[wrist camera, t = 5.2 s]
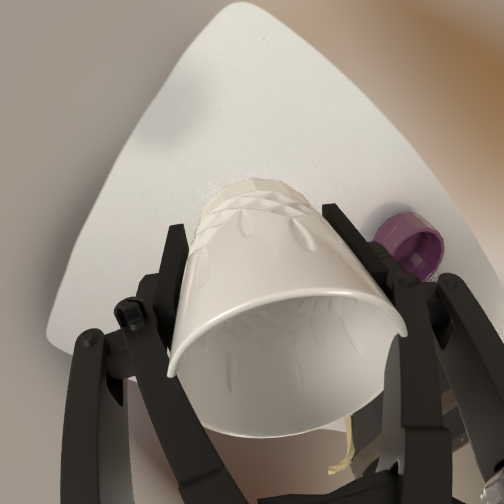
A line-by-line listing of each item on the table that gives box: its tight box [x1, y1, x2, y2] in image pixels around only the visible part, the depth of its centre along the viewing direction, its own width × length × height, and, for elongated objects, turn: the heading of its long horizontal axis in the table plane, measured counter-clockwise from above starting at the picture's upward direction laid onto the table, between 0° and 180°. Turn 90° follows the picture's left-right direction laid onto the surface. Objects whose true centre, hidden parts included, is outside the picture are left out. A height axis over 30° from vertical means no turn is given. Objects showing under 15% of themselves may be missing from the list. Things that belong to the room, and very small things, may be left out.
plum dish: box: [373, 212, 444, 282], centre depth 38 cm, size 9×9×5 cm
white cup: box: [167, 178, 408, 438], centre depth 14 cm, size 8×8×10 cm
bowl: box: [328, 351, 470, 480], centre depth 47 cm, size 35×35×20 cm
